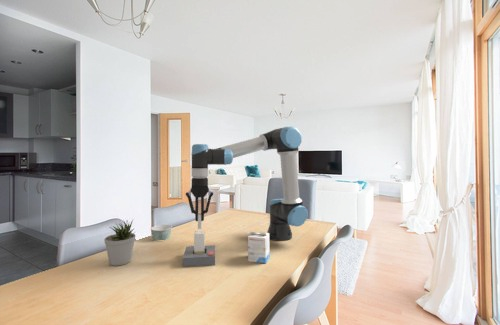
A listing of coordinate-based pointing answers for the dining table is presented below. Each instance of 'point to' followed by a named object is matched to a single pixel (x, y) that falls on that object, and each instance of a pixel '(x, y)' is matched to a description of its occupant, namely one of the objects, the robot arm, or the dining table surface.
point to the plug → (199, 242)
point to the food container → (161, 232)
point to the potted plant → (120, 245)
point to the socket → (199, 257)
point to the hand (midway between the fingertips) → (199, 227)
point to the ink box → (258, 247)
